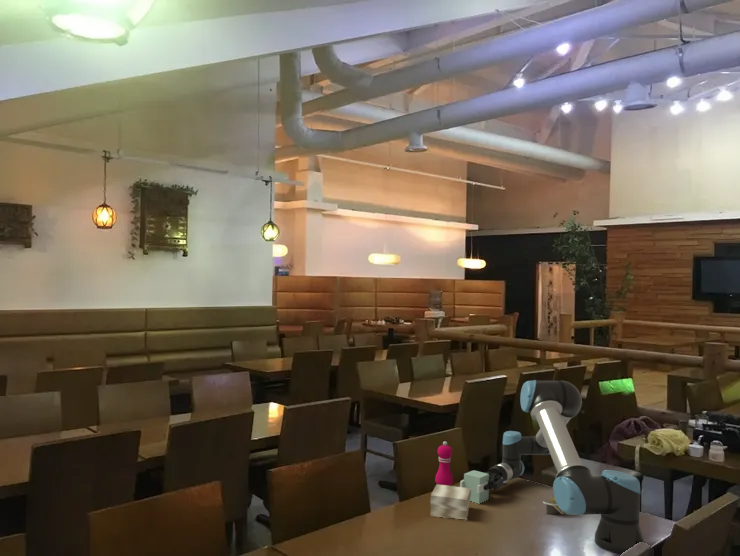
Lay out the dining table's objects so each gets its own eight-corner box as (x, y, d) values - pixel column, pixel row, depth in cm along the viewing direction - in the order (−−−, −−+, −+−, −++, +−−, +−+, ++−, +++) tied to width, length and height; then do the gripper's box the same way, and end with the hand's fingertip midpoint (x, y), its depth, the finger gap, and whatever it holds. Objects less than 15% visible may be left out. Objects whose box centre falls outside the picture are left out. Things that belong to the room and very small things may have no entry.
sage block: (473, 495, 250) (473, 470, 250) (488, 499, 245) (489, 474, 245) (463, 499, 244) (464, 473, 244) (479, 504, 240) (479, 477, 240)
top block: (470, 499, 235) (471, 488, 235) (466, 511, 223) (466, 499, 223) (436, 494, 239) (436, 484, 239) (430, 506, 226) (430, 495, 226)
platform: (588, 519, 228) (588, 501, 228) (543, 523, 223) (544, 504, 223) (569, 508, 240) (569, 490, 240) (526, 511, 235) (527, 493, 235)
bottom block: (468, 509, 236) (469, 498, 236) (467, 521, 223) (467, 510, 223) (434, 505, 239) (434, 495, 239) (430, 517, 226) (430, 506, 226)
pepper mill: (432, 488, 257) (433, 439, 257) (448, 487, 259) (449, 438, 259) (439, 494, 250) (440, 444, 250) (455, 493, 252) (457, 443, 252)
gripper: (521, 489, 252) (492, 503, 234) (478, 478, 265) (447, 490, 248) (521, 470, 252) (492, 483, 235) (478, 460, 265) (448, 471, 248)
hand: (469, 487), depth 241 cm, fingers closed on sage block, 7 cm apart
